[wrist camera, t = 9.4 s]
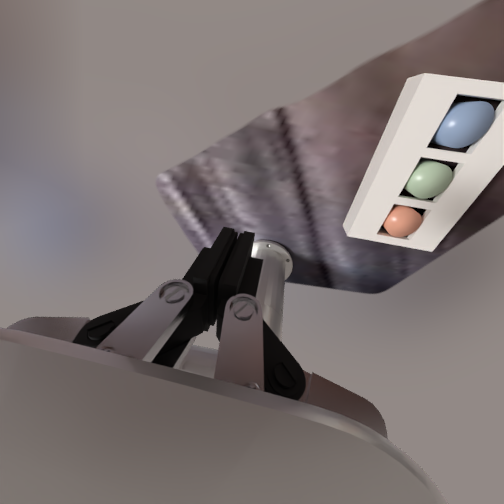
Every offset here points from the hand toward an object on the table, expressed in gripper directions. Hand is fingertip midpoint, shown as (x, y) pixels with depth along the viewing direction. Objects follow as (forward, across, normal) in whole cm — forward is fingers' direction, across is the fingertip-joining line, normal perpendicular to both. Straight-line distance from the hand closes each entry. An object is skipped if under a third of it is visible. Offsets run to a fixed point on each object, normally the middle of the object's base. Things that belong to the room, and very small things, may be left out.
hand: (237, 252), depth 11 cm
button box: (+27, -22, -1) cm, 35 cm away
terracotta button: (+27, -22, +5) cm, 35 cm away
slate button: (+26, -22, -8) cm, 35 cm away
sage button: (+27, -22, -1) cm, 34 cm away
